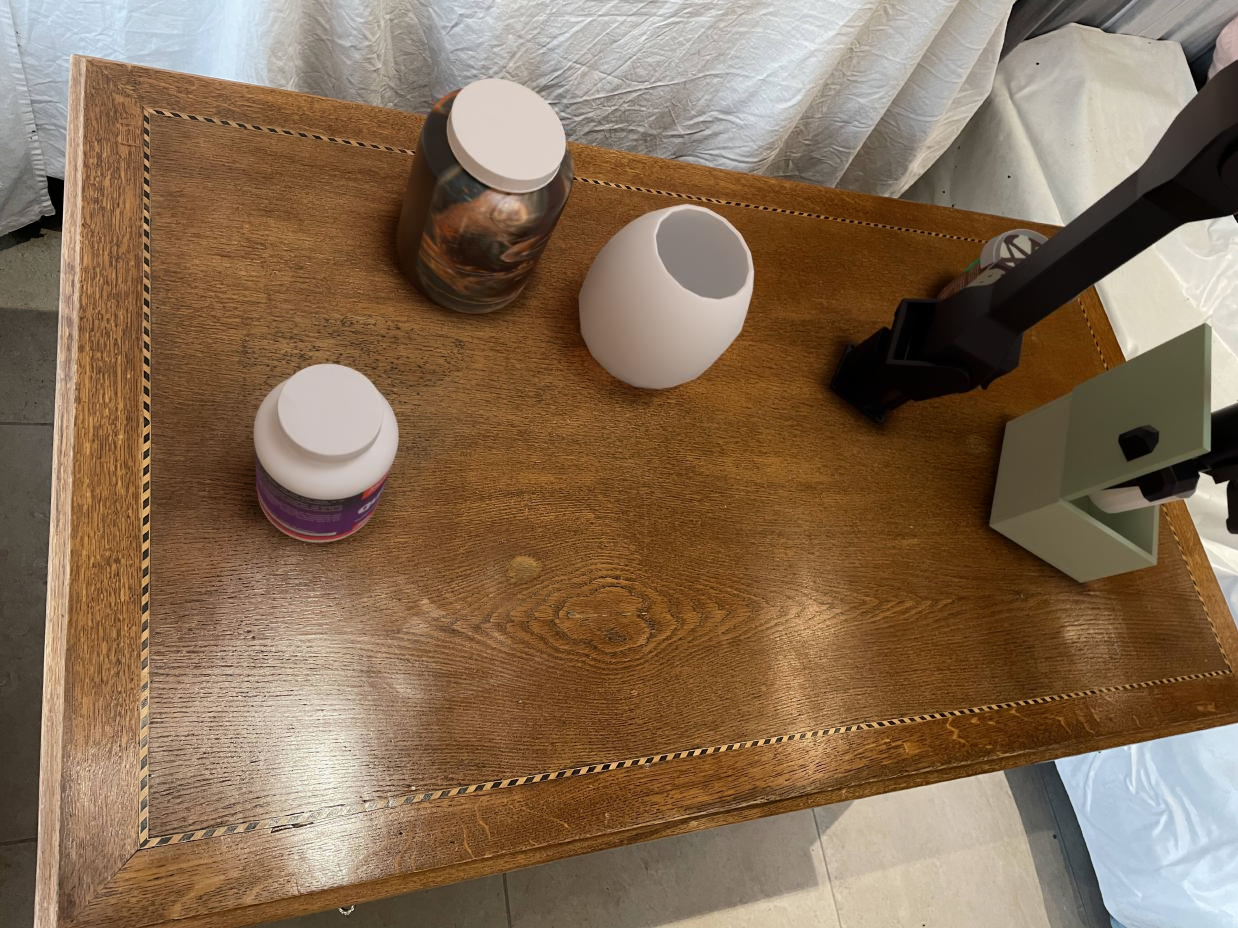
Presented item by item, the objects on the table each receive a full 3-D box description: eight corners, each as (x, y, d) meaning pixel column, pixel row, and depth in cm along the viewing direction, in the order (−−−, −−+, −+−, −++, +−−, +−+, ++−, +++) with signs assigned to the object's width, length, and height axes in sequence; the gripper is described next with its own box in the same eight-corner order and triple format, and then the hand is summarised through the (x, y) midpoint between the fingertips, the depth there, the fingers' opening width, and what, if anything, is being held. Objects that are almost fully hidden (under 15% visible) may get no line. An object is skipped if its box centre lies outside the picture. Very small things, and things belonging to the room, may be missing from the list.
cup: (623, 431, 67) (696, 359, 55) (533, 307, 68) (587, 210, 56) (725, 366, 73) (809, 290, 62) (642, 254, 74) (710, 158, 63)
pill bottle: (368, 554, 55) (396, 491, 43) (245, 537, 53) (235, 464, 40) (387, 448, 58) (417, 361, 46) (270, 427, 56) (269, 328, 43)
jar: (365, 217, 64) (388, 78, 51) (483, 178, 70) (530, 44, 57) (444, 334, 63) (488, 222, 50) (556, 284, 69) (621, 172, 56)
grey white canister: (1130, 476, 80) (1200, 452, 74) (1125, 532, 77) (1198, 512, 71) (1081, 441, 79) (1148, 414, 73) (1073, 496, 76) (1142, 473, 70)
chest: (1091, 478, 88) (1162, 452, 81) (1080, 583, 81) (1157, 565, 74) (1006, 422, 86) (1071, 391, 79) (988, 525, 79) (1058, 501, 72)
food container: (1004, 294, 93) (1079, 246, 85) (1010, 338, 91) (1087, 293, 82) (921, 263, 89) (990, 208, 81) (924, 308, 87) (996, 257, 78)
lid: (1212, 326, 67) (1205, 321, 67) (1211, 451, 61) (1203, 446, 60) (1078, 391, 78) (1072, 387, 78) (1066, 502, 72) (1059, 498, 72)
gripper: (1284, 534, 57) (1091, 579, 71) (1397, 495, 66) (1206, 541, 79) (1214, 395, 60) (1042, 464, 74) (1332, 374, 68) (1158, 439, 82)
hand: (1116, 480), depth 77 cm, fingers closed on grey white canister, 6 cm apart
